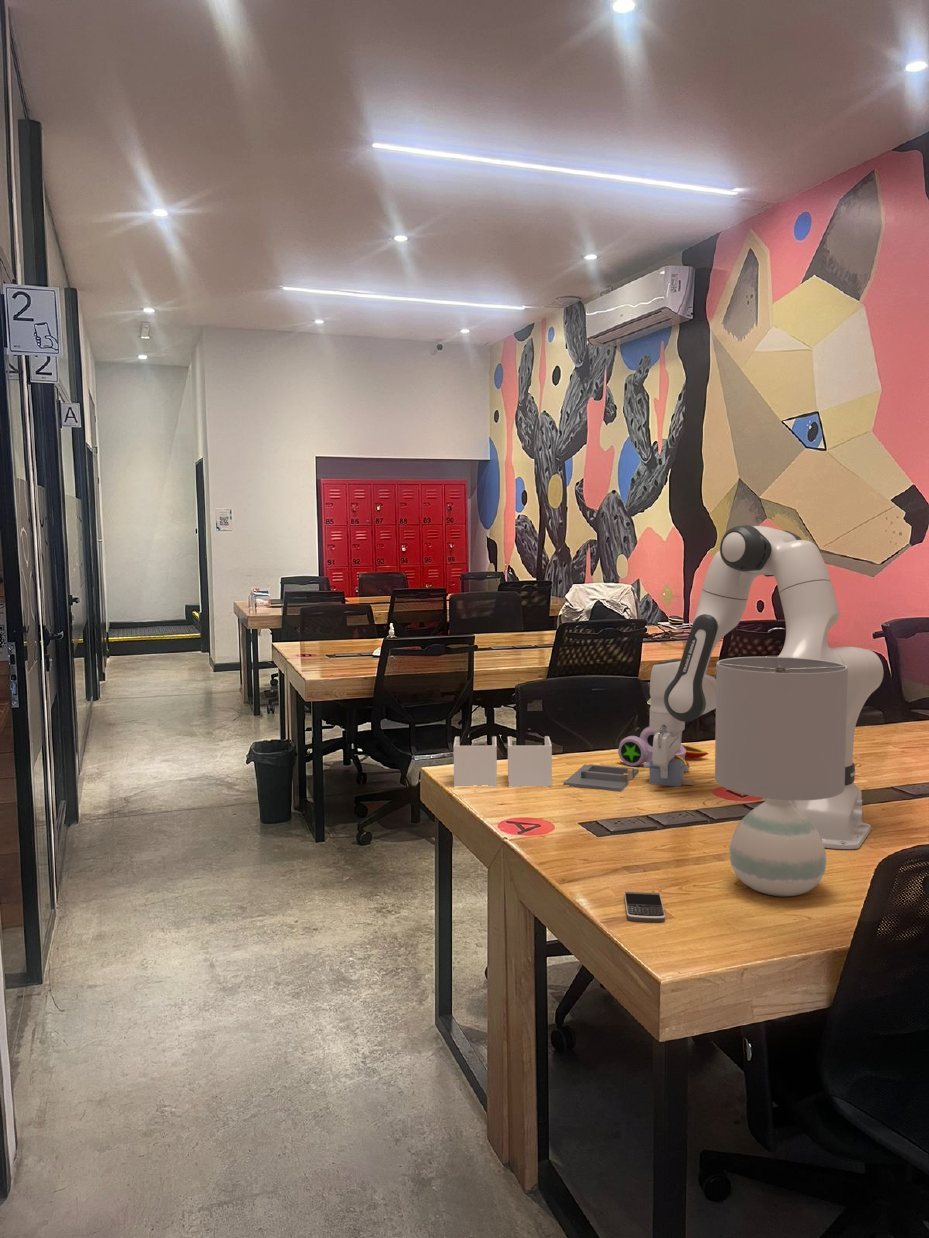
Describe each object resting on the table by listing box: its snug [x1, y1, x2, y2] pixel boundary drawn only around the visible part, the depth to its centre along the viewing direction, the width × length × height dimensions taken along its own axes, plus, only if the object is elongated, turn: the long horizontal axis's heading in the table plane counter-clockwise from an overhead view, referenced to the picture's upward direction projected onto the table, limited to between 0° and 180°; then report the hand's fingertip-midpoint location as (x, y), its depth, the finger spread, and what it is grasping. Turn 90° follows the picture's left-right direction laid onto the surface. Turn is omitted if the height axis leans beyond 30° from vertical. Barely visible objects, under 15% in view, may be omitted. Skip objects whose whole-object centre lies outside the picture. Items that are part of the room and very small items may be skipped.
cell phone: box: [623, 891, 666, 923], centre depth 149 cm, size 6×11×1 cm, turn 173°
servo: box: [643, 758, 696, 787], centre depth 226 cm, size 4×12×7 cm, turn 67°
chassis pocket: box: [563, 763, 640, 792], centre depth 231 cm, size 20×15×2 cm
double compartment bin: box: [453, 735, 553, 788], centre depth 229 cm, size 25×11×11 cm, turn 88°
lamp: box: [714, 656, 848, 897], centre depth 155 cm, size 22×22×40 cm
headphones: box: [617, 725, 709, 767], centre depth 248 cm, size 20×10×20 cm
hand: (666, 774), depth 226 cm, fingers closed on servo, 4 cm apart
